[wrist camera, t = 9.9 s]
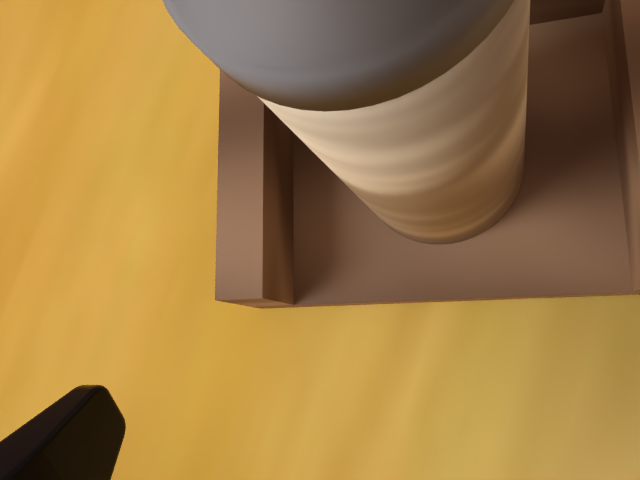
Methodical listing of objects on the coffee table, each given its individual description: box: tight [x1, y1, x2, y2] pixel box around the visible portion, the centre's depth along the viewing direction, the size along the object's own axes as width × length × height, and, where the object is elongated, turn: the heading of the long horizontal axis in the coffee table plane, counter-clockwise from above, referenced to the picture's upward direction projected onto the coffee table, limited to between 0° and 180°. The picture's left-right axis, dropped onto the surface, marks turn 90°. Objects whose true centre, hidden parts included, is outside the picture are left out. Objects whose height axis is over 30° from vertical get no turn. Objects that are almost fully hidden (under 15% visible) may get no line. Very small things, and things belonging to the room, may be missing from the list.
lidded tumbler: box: [163, 0, 530, 245], centre depth 13 cm, size 5×5×12 cm
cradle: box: [215, 0, 640, 308], centre depth 18 cm, size 10×13×3 cm
